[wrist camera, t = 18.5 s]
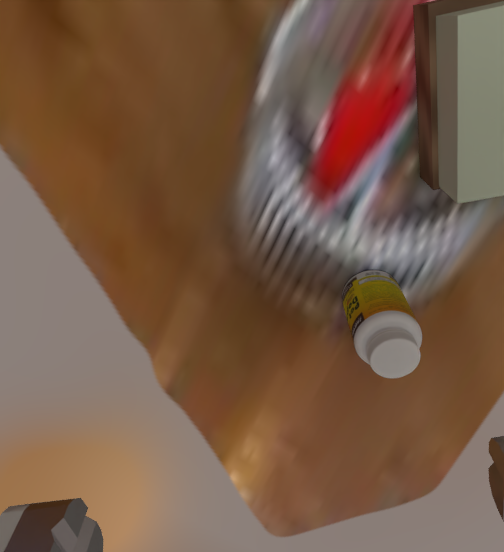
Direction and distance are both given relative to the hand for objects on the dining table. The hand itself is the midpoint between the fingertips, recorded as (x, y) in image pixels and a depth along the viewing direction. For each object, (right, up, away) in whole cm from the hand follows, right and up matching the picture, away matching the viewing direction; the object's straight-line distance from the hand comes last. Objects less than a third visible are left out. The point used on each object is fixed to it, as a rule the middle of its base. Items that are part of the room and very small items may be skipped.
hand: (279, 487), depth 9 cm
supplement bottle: (+11, +3, +37) cm, 38 cm away
